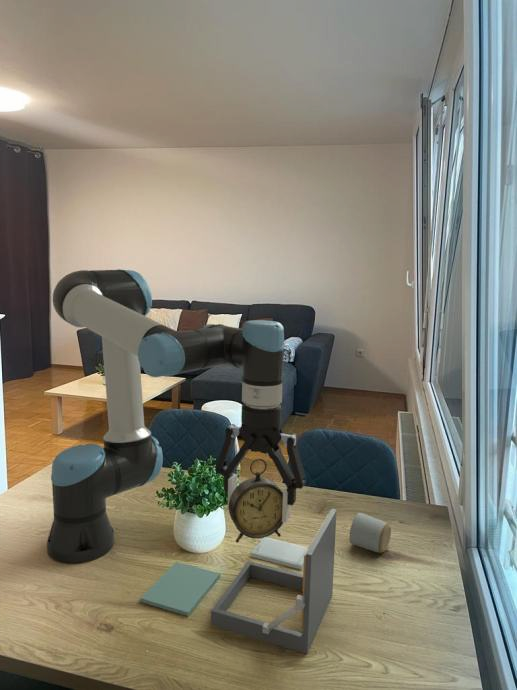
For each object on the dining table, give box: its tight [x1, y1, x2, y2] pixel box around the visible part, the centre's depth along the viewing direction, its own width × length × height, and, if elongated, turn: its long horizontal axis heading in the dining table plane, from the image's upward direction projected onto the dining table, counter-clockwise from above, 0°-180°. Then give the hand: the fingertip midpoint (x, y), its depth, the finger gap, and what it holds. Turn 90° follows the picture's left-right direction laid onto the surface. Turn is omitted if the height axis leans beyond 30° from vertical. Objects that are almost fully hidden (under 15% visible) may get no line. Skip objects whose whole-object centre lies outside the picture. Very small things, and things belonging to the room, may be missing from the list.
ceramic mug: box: [349, 512, 392, 554], centre depth 131 cm, size 11×8×8 cm
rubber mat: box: [139, 561, 221, 617], centre depth 113 cm, size 11×14×1 cm
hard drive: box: [250, 536, 309, 571], centre depth 127 cm, size 2×8×12 cm
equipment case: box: [210, 508, 338, 655], centre depth 105 cm, size 19×19×19 cm
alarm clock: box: [228, 458, 284, 543], centre depth 105 cm, size 11×5×16 cm, turn 107°
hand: (258, 513), depth 105 cm, fingers closed on alarm clock, 11 cm apart
